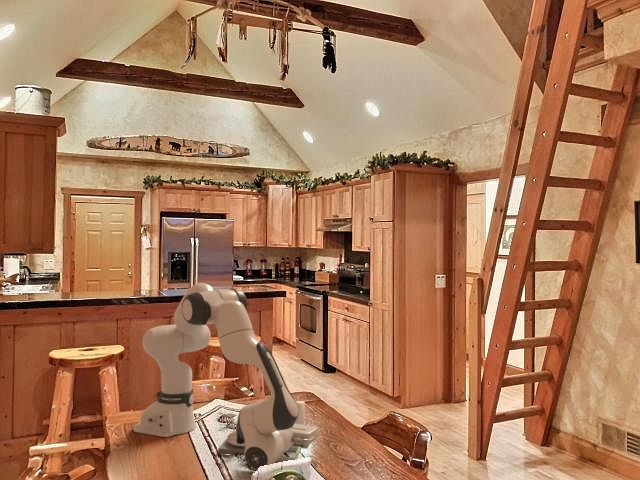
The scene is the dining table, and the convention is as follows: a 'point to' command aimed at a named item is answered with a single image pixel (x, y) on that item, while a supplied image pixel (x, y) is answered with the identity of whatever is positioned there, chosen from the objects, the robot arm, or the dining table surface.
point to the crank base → (229, 449)
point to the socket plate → (302, 446)
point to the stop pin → (300, 415)
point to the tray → (297, 449)
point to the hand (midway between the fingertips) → (295, 422)
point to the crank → (236, 439)
